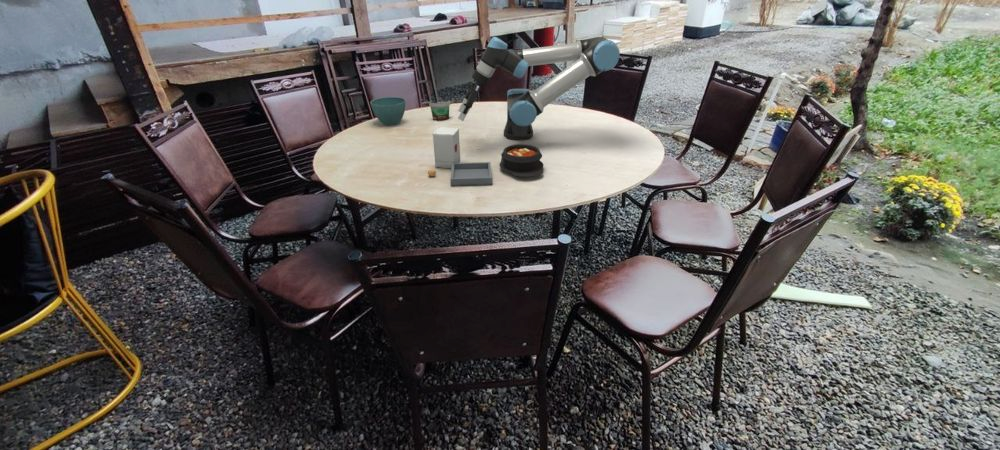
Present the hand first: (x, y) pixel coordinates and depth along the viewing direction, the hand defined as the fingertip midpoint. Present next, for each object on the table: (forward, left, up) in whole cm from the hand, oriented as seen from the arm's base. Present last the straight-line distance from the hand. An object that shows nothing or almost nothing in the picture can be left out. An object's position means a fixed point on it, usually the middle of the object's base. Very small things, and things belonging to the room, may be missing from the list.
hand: (460, 115), depth 192 cm
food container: (+12, -44, -15) cm, 48 cm away
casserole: (-25, +28, -15) cm, 40 cm away
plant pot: (+40, -39, -15) cm, 58 cm away
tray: (-4, +35, -15) cm, 38 cm away
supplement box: (+6, +21, -15) cm, 26 cm away
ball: (+12, +33, -15) cm, 38 cm away
